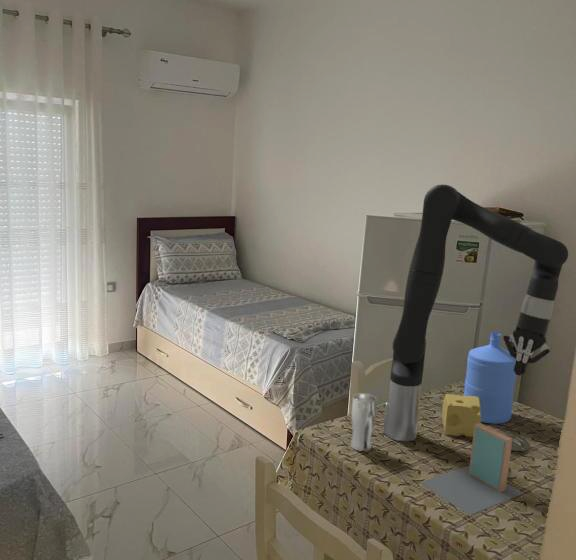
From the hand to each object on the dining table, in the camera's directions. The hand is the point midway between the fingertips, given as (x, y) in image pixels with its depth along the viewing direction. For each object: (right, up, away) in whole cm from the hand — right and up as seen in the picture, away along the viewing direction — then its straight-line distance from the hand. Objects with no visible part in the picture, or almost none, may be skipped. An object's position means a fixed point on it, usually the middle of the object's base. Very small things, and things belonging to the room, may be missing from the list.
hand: (518, 374), depth 155 cm
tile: (-11, -26, -8) cm, 30 cm away
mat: (-17, -27, -11) cm, 34 cm away
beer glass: (-42, -22, +9) cm, 48 cm away
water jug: (+3, -19, +36) cm, 41 cm away
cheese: (-9, -21, +23) cm, 33 cm away
